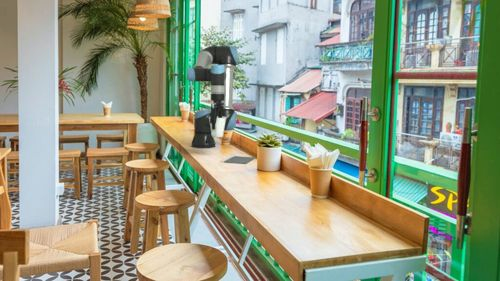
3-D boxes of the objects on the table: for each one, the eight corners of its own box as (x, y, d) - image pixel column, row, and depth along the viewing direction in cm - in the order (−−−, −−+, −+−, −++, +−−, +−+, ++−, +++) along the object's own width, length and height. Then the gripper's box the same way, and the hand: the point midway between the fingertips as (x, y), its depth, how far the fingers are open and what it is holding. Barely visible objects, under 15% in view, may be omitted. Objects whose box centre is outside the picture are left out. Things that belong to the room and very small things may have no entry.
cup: (227, 135, 258) (227, 116, 256) (224, 138, 248) (225, 118, 247) (210, 135, 259) (210, 115, 257) (206, 137, 249) (206, 117, 248)
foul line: (231, 156, 258) (231, 155, 257) (234, 156, 257) (234, 155, 257) (220, 161, 240) (220, 160, 240) (223, 162, 240) (223, 160, 240)
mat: (234, 156, 256) (234, 156, 256) (255, 158, 253) (255, 157, 253) (223, 162, 239) (223, 161, 239) (245, 164, 236) (245, 163, 236)
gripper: (217, 94, 239) (216, 137, 242) (230, 92, 259) (230, 132, 263) (203, 94, 241) (203, 136, 244) (218, 92, 261) (217, 131, 265)
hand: (217, 134), depth 253 cm, fingers closed on cup, 9 cm apart
